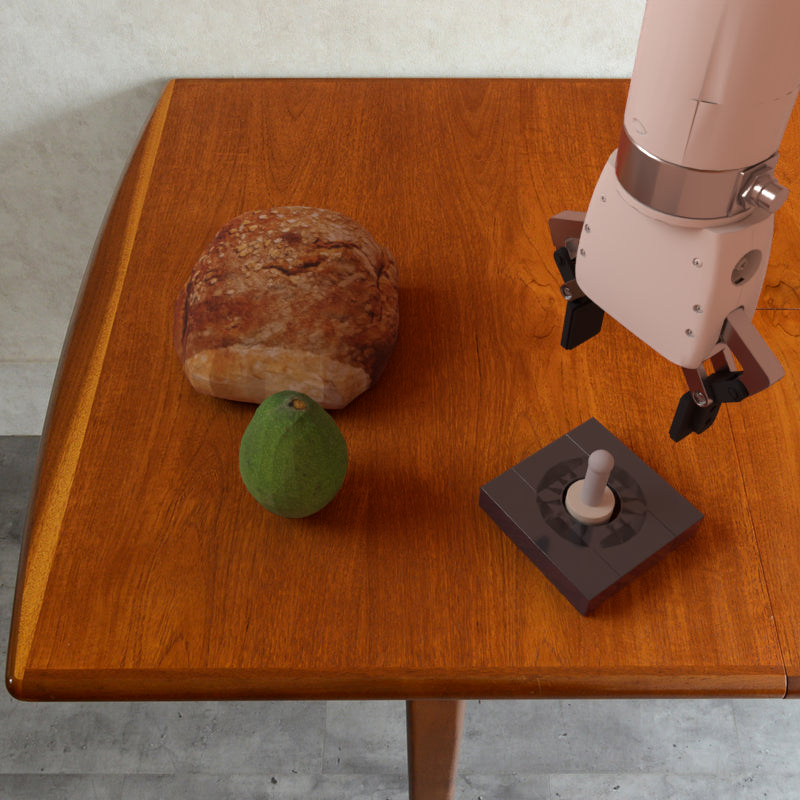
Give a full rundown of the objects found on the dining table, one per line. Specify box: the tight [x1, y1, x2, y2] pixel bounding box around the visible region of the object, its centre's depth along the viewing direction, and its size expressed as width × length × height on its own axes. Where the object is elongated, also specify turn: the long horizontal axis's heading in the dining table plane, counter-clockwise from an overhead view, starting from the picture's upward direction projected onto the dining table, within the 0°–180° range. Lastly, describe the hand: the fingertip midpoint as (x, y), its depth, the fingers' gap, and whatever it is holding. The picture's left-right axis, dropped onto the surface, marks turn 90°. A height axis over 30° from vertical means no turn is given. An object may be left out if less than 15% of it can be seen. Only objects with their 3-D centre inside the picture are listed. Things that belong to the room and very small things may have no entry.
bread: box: [172, 205, 400, 410], centre depth 78 cm, size 20×18×10 cm
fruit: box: [238, 390, 349, 519], centre depth 67 cm, size 8×8×12 cm
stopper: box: [563, 450, 615, 526], centre depth 67 cm, size 4×4×8 cm
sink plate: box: [478, 416, 705, 618], centre depth 69 cm, size 12×12×2 cm
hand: (631, 382), depth 58 cm, fingers open, 9 cm apart
